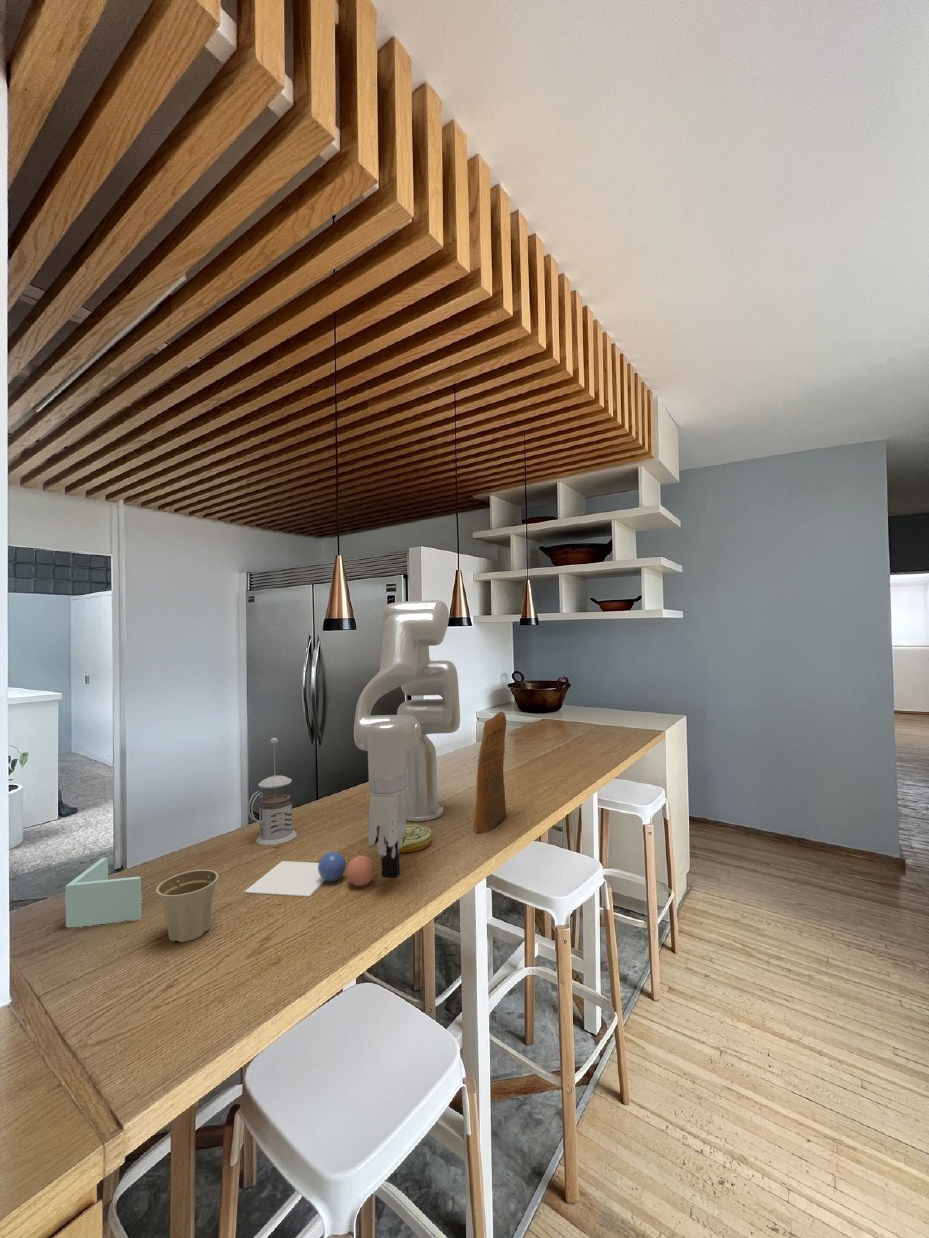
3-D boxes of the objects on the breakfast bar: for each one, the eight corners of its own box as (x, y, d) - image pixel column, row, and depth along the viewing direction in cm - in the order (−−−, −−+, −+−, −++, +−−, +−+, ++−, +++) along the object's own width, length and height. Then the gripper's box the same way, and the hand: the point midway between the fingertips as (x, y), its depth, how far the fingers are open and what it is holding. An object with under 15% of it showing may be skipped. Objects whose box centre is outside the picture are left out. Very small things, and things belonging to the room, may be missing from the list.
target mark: (282, 861, 116) (281, 861, 116) (340, 864, 114) (340, 863, 114) (244, 892, 102) (244, 891, 102) (309, 896, 100) (309, 895, 100)
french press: (304, 835, 132) (301, 736, 133) (260, 850, 123) (257, 744, 124) (285, 826, 138) (282, 732, 139) (241, 840, 130) (239, 740, 131)
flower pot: (176, 955, 82) (175, 900, 83) (146, 939, 87) (145, 887, 88) (230, 926, 90) (229, 876, 91) (199, 913, 95) (198, 865, 96)
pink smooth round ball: (379, 853, 107) (374, 877, 107) (353, 847, 106) (347, 872, 107) (374, 868, 101) (369, 894, 102) (346, 862, 101) (341, 888, 102)
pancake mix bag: (518, 812, 142) (513, 710, 143) (490, 838, 125) (485, 721, 126) (495, 809, 145) (491, 709, 146) (465, 834, 128) (460, 720, 129)
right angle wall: (139, 920, 94) (138, 878, 94) (65, 928, 92) (65, 885, 92) (167, 889, 105) (166, 851, 106) (102, 895, 104) (102, 857, 104)
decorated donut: (378, 846, 124) (377, 830, 124) (416, 833, 130) (415, 818, 131) (401, 859, 116) (400, 842, 116) (440, 845, 122) (439, 829, 122)
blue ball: (334, 878, 109) (320, 855, 110) (354, 865, 108) (341, 842, 109) (322, 891, 104) (308, 867, 105) (343, 877, 103) (329, 853, 104)
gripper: (382, 773, 113) (385, 859, 112) (355, 794, 98) (358, 893, 97) (416, 773, 111) (419, 860, 111) (393, 795, 97) (397, 895, 96)
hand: (391, 875), depth 104 cm, fingers closed
